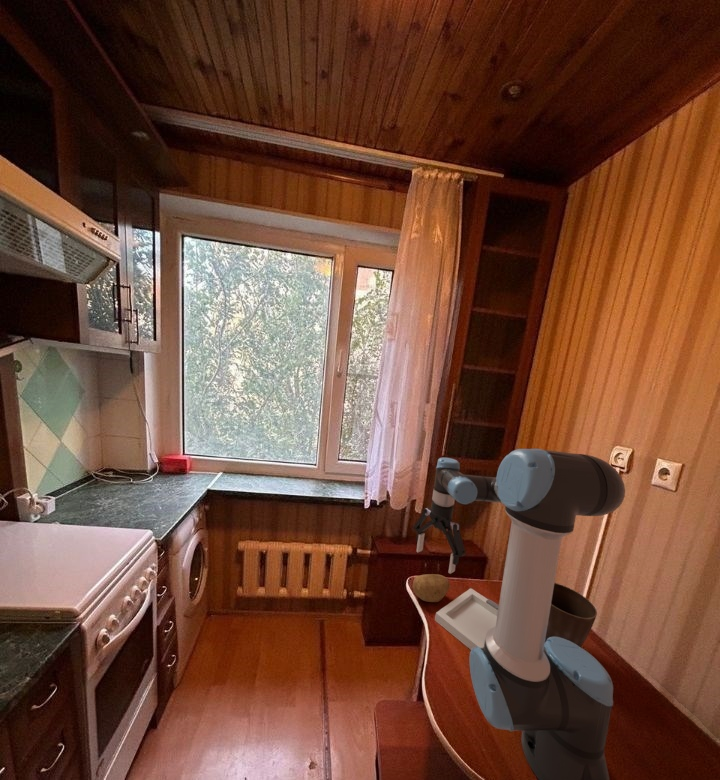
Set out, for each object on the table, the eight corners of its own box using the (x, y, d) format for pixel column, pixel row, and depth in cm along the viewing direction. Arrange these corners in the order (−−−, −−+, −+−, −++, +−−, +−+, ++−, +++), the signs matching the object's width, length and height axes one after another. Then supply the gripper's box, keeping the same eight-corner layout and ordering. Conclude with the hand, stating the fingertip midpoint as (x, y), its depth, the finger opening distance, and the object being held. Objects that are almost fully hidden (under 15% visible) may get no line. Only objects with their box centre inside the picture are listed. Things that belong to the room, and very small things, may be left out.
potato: (454, 605, 105) (458, 583, 105) (420, 612, 100) (423, 588, 100) (438, 586, 114) (441, 566, 114) (405, 591, 109) (408, 569, 109)
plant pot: (570, 634, 98) (578, 587, 98) (600, 679, 84) (609, 623, 83) (522, 624, 100) (529, 577, 100) (543, 665, 85) (551, 611, 85)
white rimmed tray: (489, 664, 84) (490, 653, 84) (434, 620, 97) (436, 611, 97) (520, 628, 98) (522, 619, 98) (469, 594, 112) (470, 586, 112)
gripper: (482, 515, 99) (472, 577, 100) (421, 488, 118) (413, 540, 119) (470, 520, 94) (460, 586, 95) (408, 491, 113) (401, 545, 114)
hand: (434, 561), depth 107 cm, fingers open, 13 cm apart
